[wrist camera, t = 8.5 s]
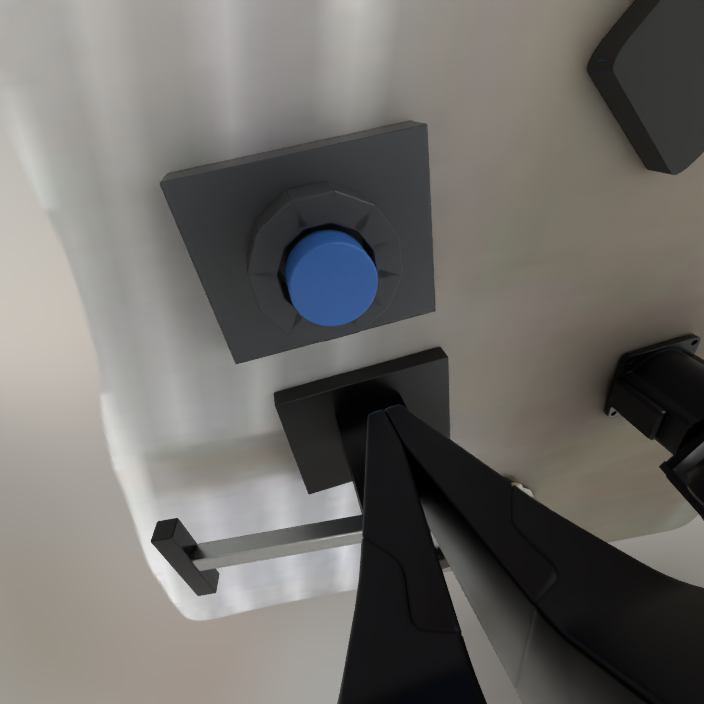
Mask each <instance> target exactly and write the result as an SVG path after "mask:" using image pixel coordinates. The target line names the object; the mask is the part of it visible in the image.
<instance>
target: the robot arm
mask: <svg viewBox="0 0 704 704" xmlns="http://www.w3.org/2000/svg"><path fill="white" fill-rule="evenodd" d="M699 342H700V337H698V336H696V335H694V334H693V335H689V336H685V337H682V338H679V339H675V340H672V341H668V342H665V343H661V344H658V345H655V346H651V347H648V348H644V349H641V350H637V351H634V352H631V353H627V354H625V355H624V356H623V357H622V358H621V360H620V363H619V366H618V369H617V373H616V376H615V379H614V383H613V386H612V390H611V393H610V396H609V400H608V403H607V407H606V410H605V414H606V415H607V416H608V417H609V418H613V417H616V416H620V415H622V416H623V417H624V418H625V419H626V420H628V421H629V422H630V423H631V424H632V425H633V426H635V427H636V428H637V429H638V430H639V431H640V432H642V433H643V434H644V435H645V436H646V437H647V438H649V439H650V440H656V441H658V442H659V443H660V444H661V445H662V446H663V447H665V448H666V449H667V450H668V451H669V452H671V453H672V454H673V456H672V457H671V458H670V459H669V460H668V461H667V462H666V461H664V462H663V463H662V464H661V465H660V466H659V467H660V468H661V470H662V471H663V472H664V473H665V474H666V477H667V478H668V480H669V481H670V482H671V483H672V484H673V485H674V486H675V487H676V489H677V490H678V491H679V492H680V493H681V494H682V495H683V496H684V498H685V499H686V500H687V501H688V502H689V503H690V504H691V505H692V507H693V508H694V509H695V510H696V511H697V512H698V513H699V515H700V516H701V517H702V519H703V520H704V360H703V359H701V358H699V357H698V356H696V355H694V354H695V352H696V349H697V347H698V345H699ZM429 528H430V529H429ZM430 530H431V532H432V533H433V535H434V537H435V539H436V541H437V543H438V545H439V547H440V549H441V550H442V552H443V554H444V556H445V558H446V560H447V562H448V564H449V565H450V567H451V569H452V571H453V573H454V575H455V577H456V579H457V580H458V582H459V584H460V586H461V588H462V590H463V592H464V593H465V596H466V597H467V599H468V601H469V603H470V605H471V607H472V608H473V610H474V613H475V614H476V616H477V618H478V620H479V622H480V624H481V625H482V628H483V629H484V631H485V633H486V635H487V637H488V639H489V641H490V643H491V644H492V646H493V648H494V650H495V652H496V654H497V655H498V658H499V660H500V661H501V663H502V665H503V667H504V669H505V671H506V673H507V675H508V676H509V678H510V680H511V682H512V684H513V686H514V688H515V689H517V690H516V691H517V694H518V695H519V697H520V699H521V701H522V703H523V704H704V588H702V587H698V586H694V585H691V584H688V583H685V582H682V581H679V580H677V579H674V578H672V577H669V576H667V575H665V574H663V573H661V572H659V571H656V570H654V569H652V568H651V567H649V566H646V565H645V564H643V563H641V562H639V561H638V560H636V559H634V558H632V557H631V556H629V555H627V554H626V553H624V552H622V551H621V550H618V549H617V548H615V547H613V546H612V545H610V544H608V543H607V542H605V541H603V540H601V539H600V538H598V537H596V536H594V535H593V534H591V533H589V532H587V531H586V530H584V529H582V528H580V527H579V526H577V525H575V524H574V523H572V522H570V521H569V520H567V519H565V518H564V517H562V516H560V515H559V514H557V513H555V512H554V511H552V510H550V509H549V508H547V507H546V506H544V505H543V504H541V503H540V502H538V501H537V500H536V499H534V498H533V497H531V496H530V495H528V494H527V493H525V492H524V491H523V490H521V489H520V488H518V487H517V486H516V485H512V483H511V482H510V481H508V480H507V479H505V478H504V477H503V476H501V475H500V474H498V473H497V472H496V471H494V470H493V469H491V468H490V467H488V466H487V465H486V464H484V463H483V462H481V461H480V460H479V459H477V458H476V457H474V456H473V455H471V454H470V453H469V452H467V451H466V450H464V449H463V448H462V447H460V446H459V445H457V444H456V443H455V442H453V441H452V440H450V439H449V438H447V437H446V436H445V435H443V434H442V433H440V432H439V431H438V430H436V429H435V428H433V427H432V426H430V425H429V424H428V423H426V422H425V421H423V420H422V419H421V418H419V417H418V416H416V415H415V414H414V413H412V412H411V411H409V410H408V409H406V408H405V407H404V406H402V405H400V404H398V405H395V406H391V407H388V408H386V409H385V411H384V410H379V411H376V412H373V413H370V414H369V415H368V422H367V443H366V464H365V485H364V506H363V527H362V537H363V539H362V543H361V561H360V573H359V583H358V590H357V597H356V604H355V611H354V617H353V622H352V628H351V634H350V640H349V645H348V651H347V656H346V662H345V668H344V673H343V679H342V684H341V689H340V694H339V698H338V703H337V704H487V703H486V700H485V698H484V695H483V693H482V690H481V688H480V685H479V683H478V680H477V677H476V675H475V672H474V669H473V666H472V663H471V661H470V657H469V654H468V651H467V649H466V645H465V642H464V639H463V637H462V635H461V629H460V626H459V623H458V620H457V616H456V613H455V610H454V607H453V604H452V600H451V597H450V594H449V591H448V588H447V584H446V581H445V578H444V575H443V571H442V568H441V565H440V562H439V558H438V555H437V552H436V549H435V546H434V542H433V539H432V536H431V533H430Z"/></svg>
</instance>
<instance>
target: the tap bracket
mask: <svg viewBox="0 0 704 704" xmlns="http://www.w3.org/2000/svg"><path fill="white" fill-rule="evenodd" d="M274 400H275V407H276V409H277V412H278V415H279V417H280V420H281V423H282V425H283V428H284V430H285V433H286V436H287V438H288V441H289V444H290V446H291V449H292V452H293V454H294V457H295V460H296V462H297V465H298V467H299V470H300V473H301V475H302V478H303V481H304V483H305V486H306V489H307V491H308V494H312V493H315V492H319V491H322V490H325V489H328V488H332V487H335V486H338V485H342V484H345V483H348V482H351V481H353V484H354V488H355V491H356V495H357V498H358V502H359V505H360V509H361V512H362V515H363V506H364V485H365V464H366V443H367V422H368V415H369V414H370V413H373V412H376V411H379V410H384V411H385V409H386V408H388V407H391V406H395V405H398V404H400V405H402V406H404V407H405V408H406V409H408V410H409V411H411V412H412V413H414V414H415V415H416V416H418V417H419V418H421V419H422V420H423V421H425V422H426V423H428V424H429V425H430V426H432V427H433V428H435V429H436V430H438V431H439V432H440V433H442V434H443V435H445V436H446V437H447V438H449V439H450V415H449V374H448V356H447V355H446V354H445V352H444V351H443V350H442V348H441V347H438V348H435V349H431V350H428V351H424V352H420V353H417V354H413V355H409V356H406V357H402V358H399V359H395V360H391V361H388V362H384V363H381V364H377V365H373V366H370V367H366V368H362V369H359V370H355V371H352V372H348V373H344V374H341V375H337V376H334V377H330V378H326V379H323V380H319V381H316V382H312V383H308V384H305V385H301V386H297V387H294V388H290V389H287V390H283V391H279V392H276V393H274ZM429 529H430V528H429ZM430 532H431V530H430ZM436 552H437V555H438V558H439V562H440V565H441V568H442V569H444V568H447V567H450V565H449V564H448V562H447V560H446V558H445V556H444V554H443V552H442V550H441V549H440V547H439V548H437V549H436Z"/></svg>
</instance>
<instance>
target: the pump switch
mask: <svg viewBox="0 0 704 704" xmlns="http://www.w3.org/2000/svg"><path fill="white" fill-rule="evenodd" d="M160 186H161V188H162V190H163V193H164V195H165V198H166V200H167V202H168V205H169V207H170V209H171V212H172V214H173V217H174V219H175V221H176V224H177V226H178V228H179V231H180V233H181V235H182V238H183V240H184V243H185V245H186V247H187V250H188V252H189V254H190V257H191V259H192V262H193V264H194V266H195V269H196V271H197V273H198V276H199V278H200V280H201V283H202V285H203V288H204V290H205V292H206V295H207V297H208V299H209V302H210V304H211V307H212V309H213V311H214V314H215V316H216V318H217V321H218V323H219V325H220V328H221V330H222V333H223V335H224V337H225V340H226V342H227V344H228V347H229V349H230V351H231V354H232V356H233V359H234V361H235V363H236V364H239V363H243V362H247V361H250V360H254V359H258V358H262V357H265V356H269V355H273V354H277V353H280V352H284V351H288V350H292V349H295V348H299V347H303V346H307V345H310V344H314V343H318V342H321V341H328V340H331V339H335V338H339V337H343V336H346V335H350V334H354V333H358V332H359V331H363V330H366V329H370V328H374V327H378V326H381V325H385V324H389V323H393V322H396V321H400V320H404V319H408V318H411V317H415V316H419V315H423V314H426V313H430V312H434V311H435V288H434V265H433V243H432V220H431V198H430V175H429V152H428V130H427V124H424V123H419V122H414V121H407V122H402V123H397V124H393V125H388V126H384V127H379V128H374V129H370V130H365V131H361V132H356V133H351V134H347V135H342V136H338V137H333V138H328V139H324V140H319V141H315V142H310V143H305V144H301V145H296V146H292V147H287V148H282V149H278V150H273V151H268V152H264V153H259V154H255V155H250V156H245V157H241V158H236V159H232V160H227V161H222V162H218V163H213V164H209V165H204V166H199V167H195V168H190V169H186V170H181V171H176V172H172V173H168V174H167V175H166V176H165V177H164V178H163V179H162V180H161V182H160ZM326 229H332V230H338V231H342V232H344V233H347V234H349V235H350V236H352V237H353V238H354V239H356V240H357V241H358V242H359V244H360V245H361V246H362V248H363V249H364V250H365V251H366V253H367V254H368V255H369V257H370V258H371V259H372V261H373V263H374V265H375V268H376V270H377V275H378V286H377V291H376V294H375V297H374V299H373V301H372V303H371V304H370V306H369V307H368V309H367V310H366V311H365V312H364V313H363V314H362V315H360V316H359V317H358V318H356V319H355V320H353V321H351V322H349V323H346V324H343V325H338V326H323V325H318V324H315V323H313V322H310V321H309V320H307V319H305V318H304V317H303V316H301V315H300V314H299V313H298V311H297V310H296V309H295V307H294V305H293V304H292V301H291V299H290V295H289V290H288V286H287V282H286V277H285V265H286V261H287V258H288V255H289V253H290V251H291V250H292V248H293V247H294V246H295V244H296V243H297V242H298V241H299V240H301V239H302V238H303V237H305V236H306V235H308V234H310V233H312V232H315V231H319V230H326Z"/></svg>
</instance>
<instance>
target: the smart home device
mask: <svg viewBox="0 0 704 704" xmlns="http://www.w3.org/2000/svg"><path fill="white" fill-rule="evenodd" d="M588 73H589V75H590V76H591V78H592V79H593V81H594V83H595V84H596V86H597V88H598V89H599V91H600V92H601V94H602V96H603V97H604V99H605V101H606V102H607V104H608V105H609V107H610V109H611V110H612V112H613V114H614V115H615V117H616V118H617V120H618V122H619V123H620V125H621V127H622V128H623V130H624V131H625V133H626V135H627V136H628V138H629V140H630V141H631V143H632V144H633V146H634V148H635V149H636V151H637V153H638V154H639V156H640V157H641V159H642V161H643V162H644V164H645V166H646V167H647V169H648V170H652V171H657V172H662V173H667V174H672V175H675V174H678V173H680V172H682V171H683V170H685V169H686V168H687V167H688V166H690V165H691V164H692V163H693V162H694V161H695V160H696V159H697V158H698V157H699V156H700V155H701V154H702V153H703V152H704V0H635V2H634V3H633V4H632V5H631V6H630V8H629V9H628V10H627V11H626V13H625V14H624V15H623V16H622V17H621V19H620V20H619V21H618V22H617V24H616V25H615V26H614V27H613V28H612V30H611V31H610V32H609V33H608V35H607V36H606V37H605V38H604V40H603V41H602V42H601V44H600V45H599V46H598V48H597V49H596V51H595V53H594V54H593V56H592V58H591V60H590V63H589V66H588Z"/></svg>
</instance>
